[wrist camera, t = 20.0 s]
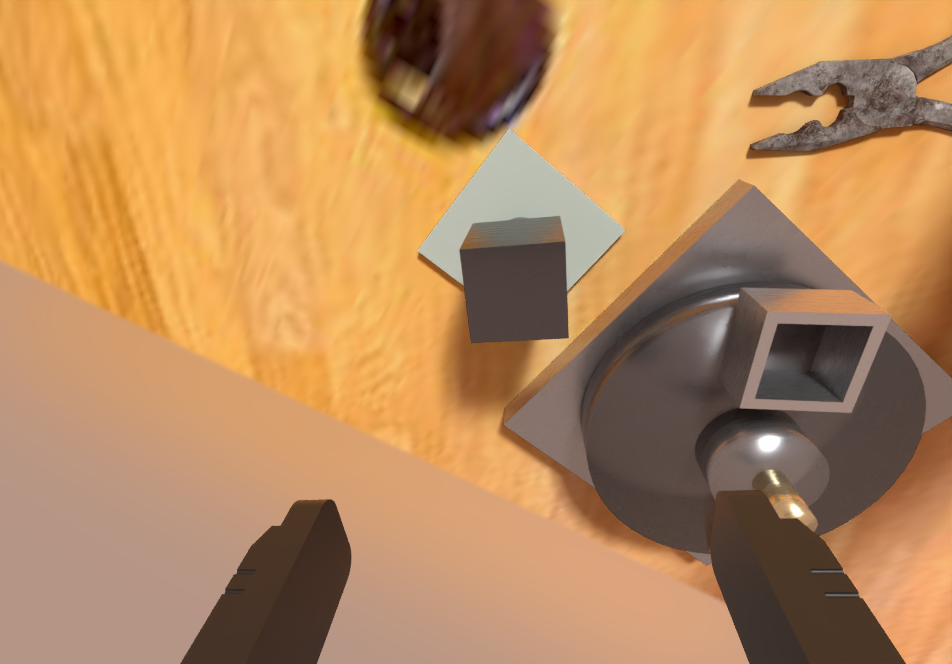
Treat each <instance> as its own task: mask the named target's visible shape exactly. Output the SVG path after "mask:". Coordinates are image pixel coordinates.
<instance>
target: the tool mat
mask: <svg viewBox="0 0 952 664" xmlns="http://www.w3.org/2000/svg"><path fill="white" fill-rule="evenodd" d="M551 216H560V218H561V223H562V228H563V232H564V237H565V245H566V275H567V291H568V290H569V289H570V288H571V287H572V286H573V285H574V284H575V283H576V282H577V281H578V280H579V279H580V277H581V276H582V275H583V274H584V273H585V272H586V271H587V270H588V269H589V268H590V267H591V266H592V265H593V264H594V263H595V262H596V261H597V260H598V259H599V258H600V257H601V256H602V255H603V253H604V252H605V251H606V250H607V249H608V248H609V247H610V246H611V245H612V244H613V243H614V242H615V241H616V240H617V239H618V238H619V237H620V236H621V235H622V234H623V233H624V232H625V231H626V230H625V229H624V227H622V226H621V225H620V224H619V223H618V222H617V221H615V220H614V219H613V218H612V217H611V216H610V215H609V214H607V213H606V212H605V211H604V210H603V209H602V208H601V207H599V206H598V205H597V204H596V203H595V202H594V201H592V200H591V199H590V198H589V197H588V196H587V195H586V194H584V193H583V192H582V191H581V190H580V189H579V188H578V187H576V186H575V185H574V184H573V183H572V182H571V181H569V180H568V179H567V178H566V177H565V176H564V175H563V174H561V173H560V172H559V171H558V170H557V169H556V168H554V167H553V166H552V165H551V164H550V163H549V162H548V161H546V160H545V159H544V158H543V157H542V156H541V155H540V154H538V153H537V152H536V151H535V150H534V149H533V148H531V147H530V146H529V145H528V144H527V143H526V142H525V141H523V140H522V139H521V138H520V137H519V136H518V135H517V134H515V133H514V132H513V131H512V130H511V129H510V128H509V129H508V130H507V132H506V133H505V134H504V136H503V137H502V138H501V140H500V141H499V142H498V144H497V145H496V146H495V148H494V149H493V150H492V152H491V153H490V154H489V156H488V157H487V158H486V160H485V161H484V162H483V164H482V165H481V166H480V168H479V169H478V170H477V172H476V173H475V174H474V176H473V177H472V178H471V180H470V181H469V182H468V184H467V185H466V186H465V188H464V189H463V190H462V192H461V193H460V194H459V196H458V197H457V198H456V200H455V201H454V202H453V204H452V205H451V206H450V208H449V209H448V210H447V212H446V213H445V214H444V216H443V217H442V218H441V220H440V221H439V222H438V224H437V225H436V226H435V228H434V229H433V230H432V232H431V233H430V234H429V236H428V237H427V238H426V240H425V241H424V242H423V244H422V245H421V246H420V248H419V249H418V252H420V253H421V254H422V255H424V256H425V257H426V258H428V259H429V260H430V261H431V262H433V263H434V264H435V265H437V266H438V267H439V268H441V269H442V270H443V271H445V272H446V273H447V274H449V275H450V276H451V277H453V278H454V279H455V280H457V281H458V282H459V283H461V284H462V285H463V286H464V283H463V275H462V268H461V260H460V252H459V249H460V247H461V245H462V243H463V241H464V239H465V238H466V236H467V234H468V232H469V230H470V228H471V226H472V224H473V223H482V222H493V221H505V220H511V219H514V218H518V217H525V218H540V217H551Z"/></svg>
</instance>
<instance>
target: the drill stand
mask: <svg viewBox="0 0 952 664" xmlns="http://www.w3.org/2000/svg"><path fill="white" fill-rule="evenodd" d="M758 281H768V282H780V283H789V284H794V285H799V286H804V287H808V288H811V289H821V290H852V291H854V292H855V293H857V294H859V295H860V296H862V297H864V298H865V299H867V300H869V301H870V302H872V303H874V302H873V301H872V300H871V299H870V298H869V297H868V296H867V295H866V294H865V293H864V292H863V291H862V290H861V289H860V288H859V287H858V286H857V285H856V284H855V283H854V282H853V281H852V280H851V279H850V278H848V277H847V276H846V275H845V274H844V273H843V272H842V271H841V270H840V269H839V268H838V267H837V266H836V265H835V264H834V263H833V262H832V261H831V260H830V259H829V258H828V257H827V256H826V255H825V254H824V253H823V252H822V251H821V250H820V249H819V248H818V247H817V246H816V245H815V244H814V243H813V242H812V241H811V240H810V239H809V238H807V237H806V236H805V235H804V234H803V233H802V232H801V231H800V230H799V229H798V228H797V227H796V226H795V225H794V224H793V223H792V222H791V221H790V220H789V219H788V218H787V217H786V216H785V215H784V214H783V213H782V212H781V211H780V210H779V209H778V208H777V207H776V206H775V205H774V204H773V203H772V202H771V201H770V200H769V199H768V198H766V197H765V196H764V195H763V194H762V193H761V192H760V191H759V190H758V189H757V188H756V187H755V186H754V185H751V184H749V183H746V182H744V181H741V180H738V181H737V182H736V183H735V184H734V185H733V186H732V187H731V188H730V189H729V190H728V191H727V192H726V193H725V194H724V195H723V196H722V197H721V198H720V199H719V200H718V201H717V202H716V203H715V204H714V205H713V206H712V207H710V208H709V209H708V210H707V211H706V212H705V213H704V214H703V215H702V216H701V217H700V218H699V219H698V220H697V221H696V222H695V223H694V224H693V225H692V226H691V227H690V228H689V229H688V230H687V231H686V232H685V233H684V234H683V235H682V236H681V237H680V238H679V239H678V240H677V241H676V242H675V243H674V244H673V245H672V246H671V247H669V248H668V249H667V250H666V251H665V252H664V253H663V254H662V255H661V256H660V257H659V258H658V259H657V260H656V261H655V262H654V263H653V264H652V265H651V266H650V267H649V268H648V269H647V270H646V271H645V272H644V273H643V274H642V275H641V276H640V277H639V278H638V279H637V280H636V281H635V282H634V283H633V284H632V285H631V286H630V287H629V288H627V289H626V290H625V291H624V292H623V293H622V294H621V295H620V296H619V297H618V298H617V299H616V300H615V301H614V302H613V303H612V304H611V305H610V306H609V307H608V308H607V309H606V310H605V311H604V312H603V313H602V314H601V315H600V316H599V317H598V318H597V319H596V320H595V321H594V322H593V323H592V324H591V325H590V326H589V327H588V328H586V329H585V330H584V331H583V332H582V333H581V334H580V335H579V336H578V337H577V338H576V339H575V340H574V341H573V342H572V343H571V344H570V345H569V346H568V347H567V348H566V349H565V350H564V351H563V352H562V353H561V354H560V355H559V356H558V357H557V358H556V359H555V360H554V361H553V362H552V363H551V364H550V365H549V366H548V367H547V368H546V369H544V370H543V371H542V372H541V373H540V374H539V375H538V376H537V377H536V378H535V379H534V380H533V381H532V382H531V383H530V384H529V385H528V386H527V387H526V388H525V389H524V390H523V391H522V392H521V393H520V394H519V395H518V396H517V397H516V398H515V399H514V400H513V401H512V402H511V403H510V404H509V405H508V406H507V407H506V408H505V410H504V426H506V427H507V428H509V429H510V430H512V431H513V432H515V433H516V434H517V435H519V436H520V437H522V438H523V439H525V440H526V441H528V442H529V443H530V444H532V445H533V446H535V447H536V448H538V449H539V450H540V451H542V452H543V453H545V454H546V455H548V456H549V457H551V458H552V459H553V460H555V461H556V462H558V463H559V464H561V465H562V466H564V467H565V468H566V469H568V470H569V471H571V472H572V473H574V474H575V475H577V476H578V477H579V478H581V479H582V480H584V481H585V482H587V483H588V484H590V485H591V486H592V487H594V488H595V486H594V484H593V481H592V478H591V475H590V472H589V468H588V462H587V457H586V452H585V446H584V441H583V434H582V426H581V422H582V407H583V402H584V397H585V393H586V390H587V388H588V385H589V382H590V379H591V378H592V376H593V374H594V372H595V370H596V368H597V366H598V364H599V363H600V362H601V360H602V359H603V357H604V356H605V355H606V353H607V352H608V350H609V349H610V348H611V347H612V346H613V345H614V344H615V343H616V342H617V340H618V339H619V338H620V337H621V336H622V335H623V334H624V333H626V332H627V331H628V330H629V329H630V328H631V327H633V326H634V325H635V324H636V323H637V322H639V321H640V320H642V319H643V318H645V317H646V316H648V315H649V314H651V313H652V312H654V311H655V310H657V309H659V308H661V307H663V306H665V305H667V304H669V303H670V302H672V301H674V300H676V299H679V298H682V297H684V296H687V295H689V294H692V293H695V292H697V291H701V290H705V289H708V288H712V287H716V286H720V285H726V284H733V283H740V282H758ZM874 304H875V303H874ZM886 332H888V333H889V334H890V335H892V336H893V337H894V338H895V339H896V340H897V341H898V342H899V343H900V344H901V345H902V346H903V347H904V348H905V350H906V351H907V352H908V353H909V354H910V356H911V358H912V360H913V361H914V363H915V365H916V366H917V368H918V370H919V373H920V376H921V379H922V382H923V385H924V391H925V398H926V414H925V423H924V427H923V431H922V434H923V433H925V432H927V431H928V430H930V429H931V428H933V427H935V426H936V425H938V424H940V423H941V422H943V421H945V420H946V419H948V418H949V417H951V416H952V378H951V377H950V376H949V375H948V374H947V373H946V372H945V371H944V370H943V369H942V368H941V367H940V366H939V365H938V364H937V363H936V362H935V361H934V360H933V359H932V358H931V357H929V356H928V355H927V354H926V353H925V352H924V351H923V350H922V349H921V348H920V347H919V346H918V345H917V344H916V343H915V342H914V341H913V340H912V339H911V338H910V337H909V336H908V335H907V334H906V333H905V332H904V331H903V330H902V329H901V328H900V327H899V326H898V325H897V324H896V323H895V322H894V321H893V320H892V319H891V320H890V322H889V324H888V327H887V329H886ZM595 489H596V488H595ZM686 552H688V553H689V554H690V555H692V556H693V557H695V558H696V559H698V560H699V561H701V562H702V563H703V564H705V565H706V566H707V565H709V564H711V563H712V560H711V554H703V553H694V552H689V551H686Z"/></svg>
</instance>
